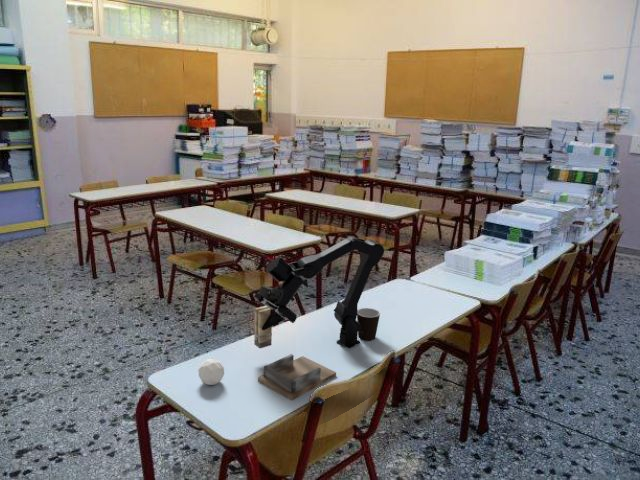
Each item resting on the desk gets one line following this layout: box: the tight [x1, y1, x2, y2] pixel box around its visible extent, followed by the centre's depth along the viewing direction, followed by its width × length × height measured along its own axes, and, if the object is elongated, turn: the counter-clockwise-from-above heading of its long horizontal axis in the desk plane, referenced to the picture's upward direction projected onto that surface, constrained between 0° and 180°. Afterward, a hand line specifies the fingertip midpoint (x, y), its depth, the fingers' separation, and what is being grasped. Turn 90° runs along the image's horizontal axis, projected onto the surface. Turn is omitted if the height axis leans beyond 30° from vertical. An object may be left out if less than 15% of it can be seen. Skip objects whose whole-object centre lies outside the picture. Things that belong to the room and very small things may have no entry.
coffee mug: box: [356, 307, 381, 342], centre depth 193 cm, size 12×9×10 cm
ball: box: [197, 358, 225, 386], centre depth 157 cm, size 8×8×8 cm
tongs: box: [253, 306, 273, 349], centre depth 170 cm, size 5×4×13 cm
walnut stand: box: [257, 353, 337, 401], centre depth 162 cm, size 20×15×5 cm
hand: (259, 327), depth 169 cm, fingers closed on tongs, 3 cm apart
